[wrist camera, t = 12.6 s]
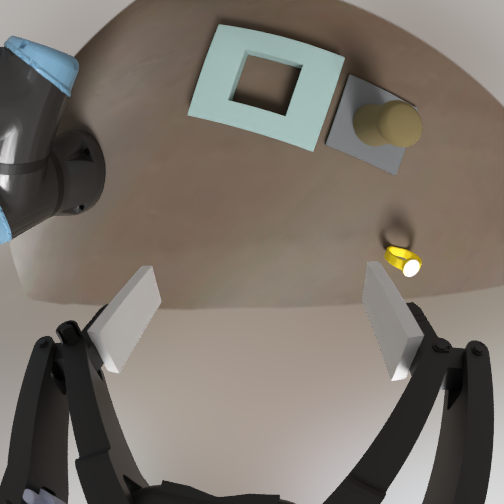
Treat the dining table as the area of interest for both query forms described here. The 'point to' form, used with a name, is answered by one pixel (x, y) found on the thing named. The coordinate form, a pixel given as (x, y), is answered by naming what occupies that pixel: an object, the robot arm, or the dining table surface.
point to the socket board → (255, 119)
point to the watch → (406, 266)
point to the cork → (388, 124)
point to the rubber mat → (343, 130)
